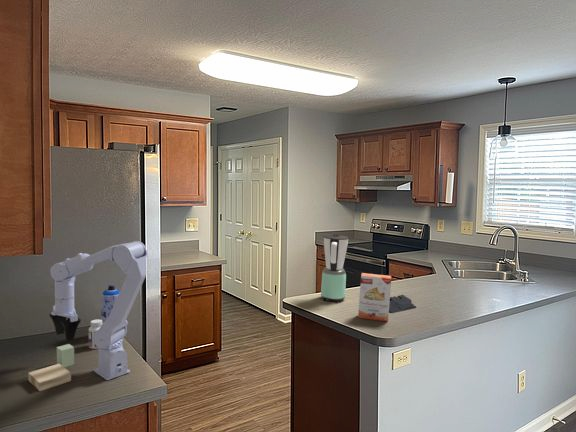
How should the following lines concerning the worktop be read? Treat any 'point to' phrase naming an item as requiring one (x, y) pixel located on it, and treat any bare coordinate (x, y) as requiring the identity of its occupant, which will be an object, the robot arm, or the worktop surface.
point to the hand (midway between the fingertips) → (65, 336)
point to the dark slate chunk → (400, 304)
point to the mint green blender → (334, 268)
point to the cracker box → (374, 297)
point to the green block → (65, 355)
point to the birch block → (49, 377)
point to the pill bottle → (94, 327)
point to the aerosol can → (108, 301)
